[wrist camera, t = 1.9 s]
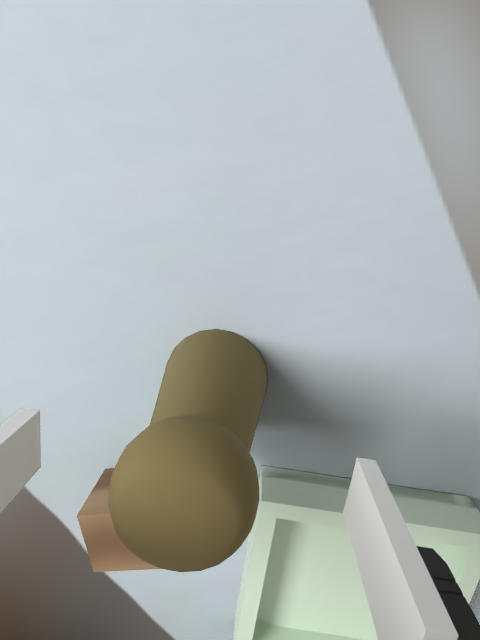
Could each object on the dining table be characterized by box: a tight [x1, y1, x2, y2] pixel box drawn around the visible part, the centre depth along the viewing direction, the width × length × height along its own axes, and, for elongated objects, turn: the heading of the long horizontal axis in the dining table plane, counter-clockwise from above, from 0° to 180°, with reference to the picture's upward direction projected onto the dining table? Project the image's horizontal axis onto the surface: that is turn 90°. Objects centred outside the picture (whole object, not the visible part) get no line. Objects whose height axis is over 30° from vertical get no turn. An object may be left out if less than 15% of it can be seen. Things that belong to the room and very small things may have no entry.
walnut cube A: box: [77, 468, 161, 572], centre depth 23 cm, size 4×4×4 cm
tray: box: [234, 466, 480, 640], centre depth 24 cm, size 13×13×3 cm
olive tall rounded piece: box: [108, 329, 268, 572], centre depth 17 cm, size 6×6×11 cm
